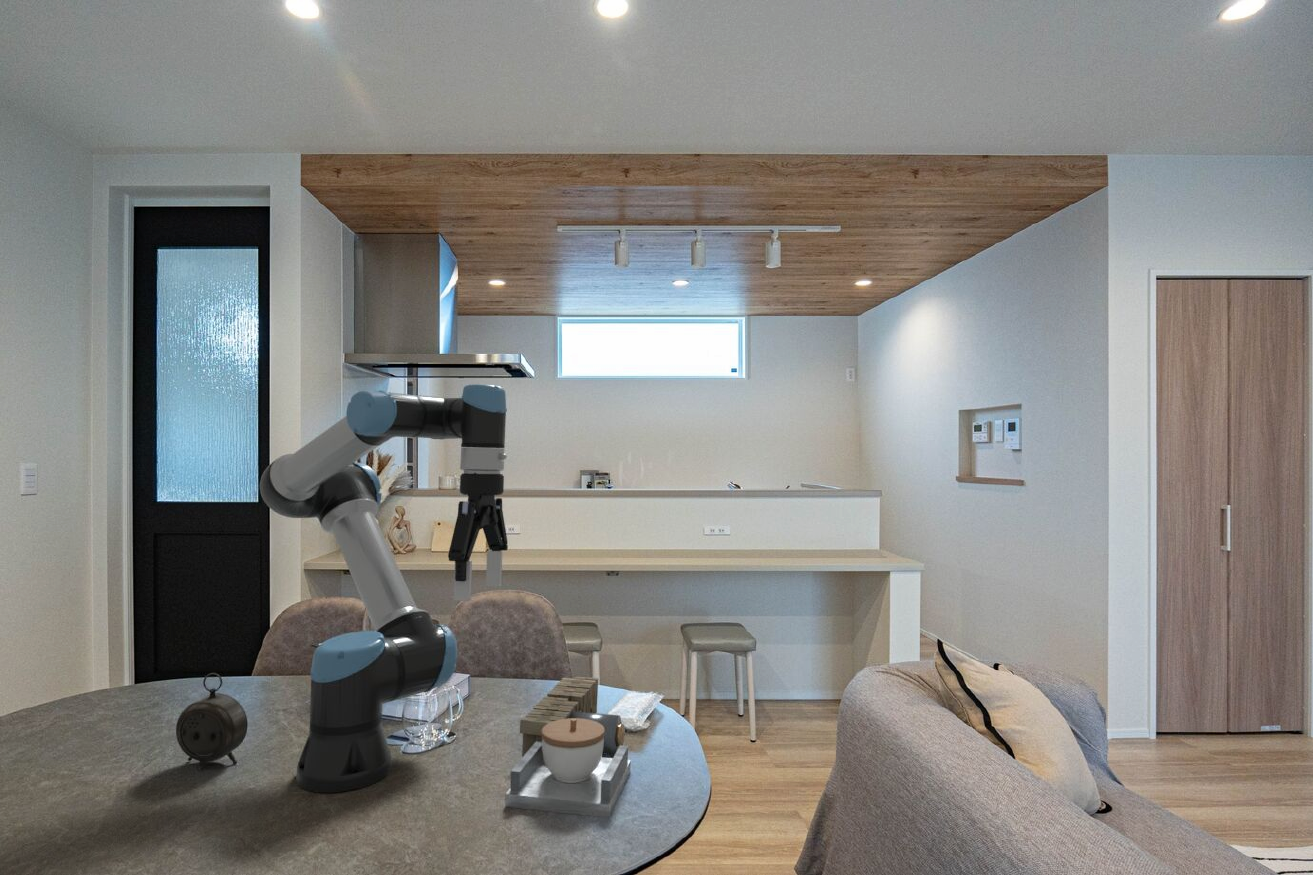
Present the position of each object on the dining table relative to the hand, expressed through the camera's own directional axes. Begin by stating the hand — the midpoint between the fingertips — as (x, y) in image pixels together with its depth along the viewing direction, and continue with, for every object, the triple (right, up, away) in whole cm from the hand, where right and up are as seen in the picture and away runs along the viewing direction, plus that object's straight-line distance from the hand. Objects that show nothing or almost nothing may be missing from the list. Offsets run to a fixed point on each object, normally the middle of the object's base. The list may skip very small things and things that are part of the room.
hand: (478, 593), depth 127 cm
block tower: (+12, -33, +19) cm, 40 cm away
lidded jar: (+17, -30, -5) cm, 35 cm away
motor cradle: (+18, -32, 0) cm, 37 cm away
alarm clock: (-48, -31, +1) cm, 57 cm away
